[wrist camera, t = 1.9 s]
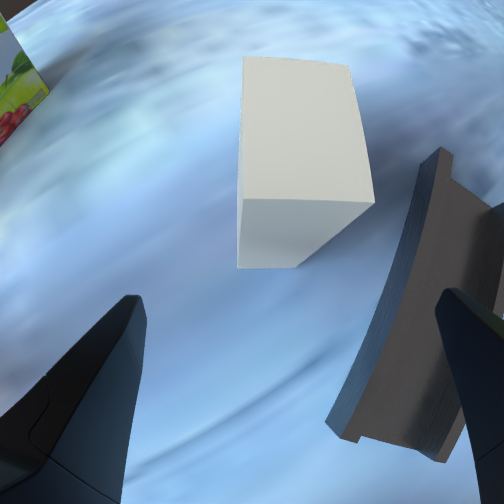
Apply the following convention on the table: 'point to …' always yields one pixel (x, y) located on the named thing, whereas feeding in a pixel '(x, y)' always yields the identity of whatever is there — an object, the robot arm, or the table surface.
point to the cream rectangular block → (297, 160)
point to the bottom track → (423, 318)
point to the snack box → (16, 83)
